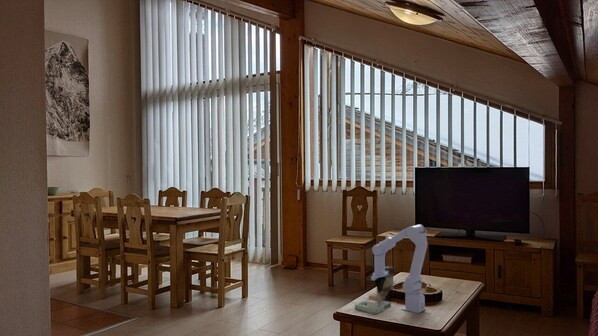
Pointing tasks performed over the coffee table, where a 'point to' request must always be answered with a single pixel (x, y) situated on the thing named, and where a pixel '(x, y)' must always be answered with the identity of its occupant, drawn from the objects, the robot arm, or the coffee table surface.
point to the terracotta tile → (374, 297)
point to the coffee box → (387, 282)
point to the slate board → (381, 304)
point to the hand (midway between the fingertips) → (379, 290)
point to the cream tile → (372, 304)
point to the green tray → (368, 308)
